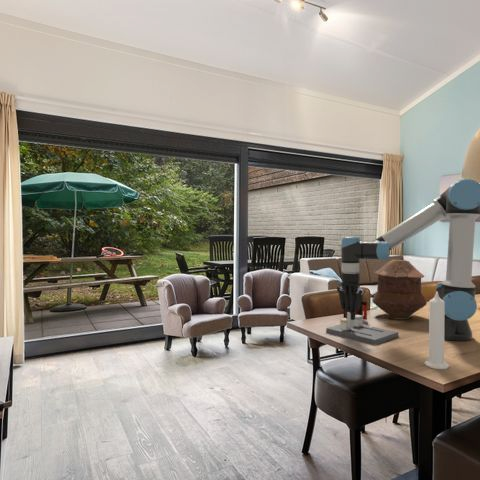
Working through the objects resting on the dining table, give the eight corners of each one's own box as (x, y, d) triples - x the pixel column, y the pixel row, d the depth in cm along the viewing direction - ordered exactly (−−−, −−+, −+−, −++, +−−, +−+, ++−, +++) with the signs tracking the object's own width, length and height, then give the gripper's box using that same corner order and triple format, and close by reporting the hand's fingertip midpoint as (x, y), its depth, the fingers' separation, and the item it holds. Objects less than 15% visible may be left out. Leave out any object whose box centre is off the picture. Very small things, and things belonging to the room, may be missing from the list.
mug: (366, 322, 187) (366, 298, 187) (340, 318, 197) (340, 295, 196) (373, 318, 195) (373, 295, 194) (348, 315, 204) (348, 292, 204)
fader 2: (363, 325, 172) (363, 315, 172) (357, 326, 169) (357, 317, 169) (357, 324, 174) (357, 314, 174) (352, 325, 172) (352, 315, 172)
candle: (440, 361, 130) (441, 289, 130) (453, 369, 123) (453, 292, 123) (420, 362, 130) (421, 289, 130) (431, 369, 123) (432, 293, 122)
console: (398, 336, 161) (398, 331, 161) (374, 344, 150) (374, 339, 150) (350, 326, 180) (350, 321, 180) (326, 332, 169) (326, 327, 169)
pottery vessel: (363, 316, 199) (363, 259, 198) (387, 309, 216) (387, 257, 215) (412, 325, 180) (412, 262, 179) (434, 317, 197) (434, 259, 196)
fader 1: (351, 328, 166) (351, 318, 166) (346, 330, 163) (346, 320, 163) (345, 327, 168) (345, 317, 168) (340, 329, 166) (340, 319, 166)
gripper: (368, 273, 161) (368, 328, 161) (343, 270, 171) (343, 322, 172) (358, 274, 156) (358, 331, 157) (332, 271, 166) (332, 325, 167)
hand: (350, 326), depth 164 cm, fingers closed
